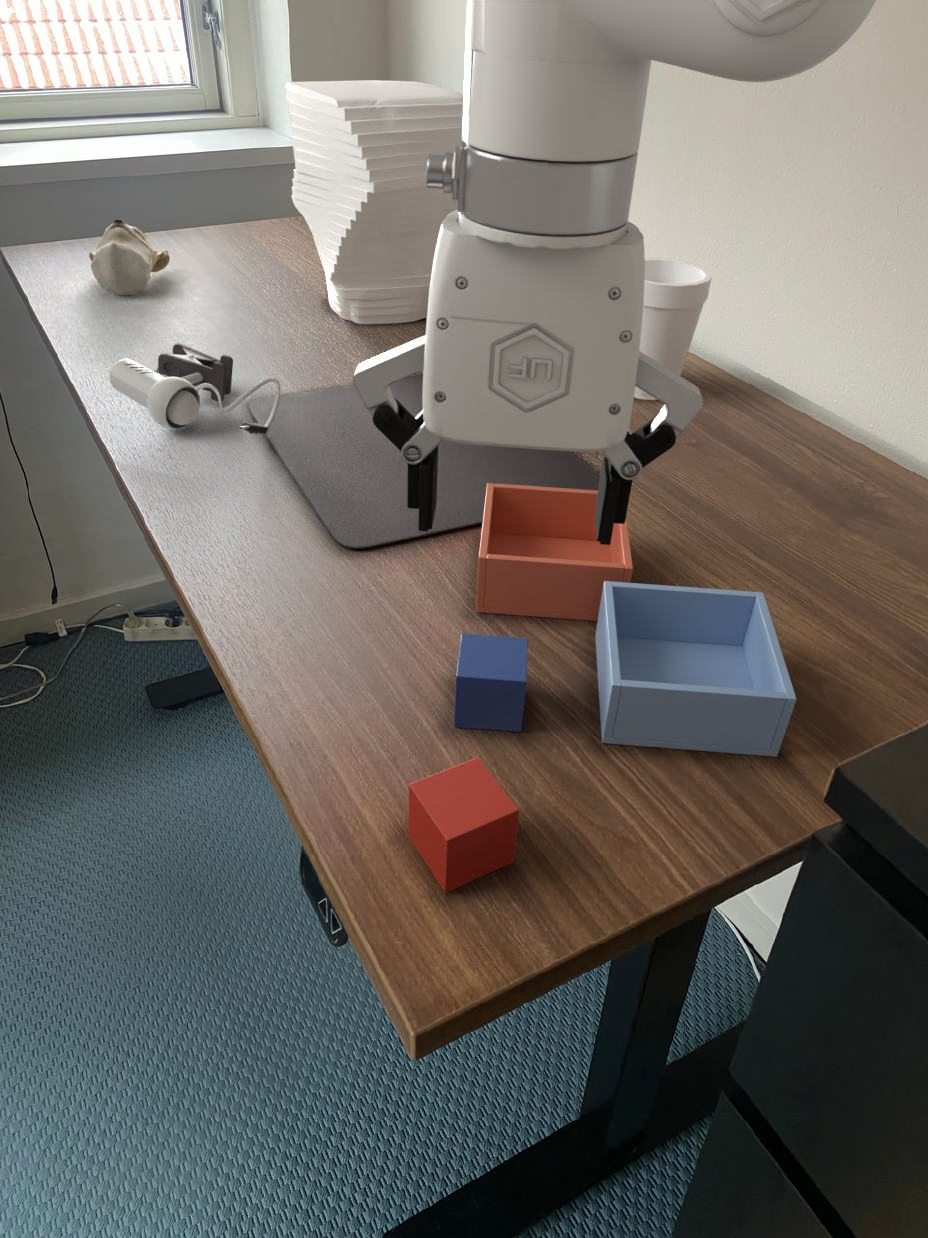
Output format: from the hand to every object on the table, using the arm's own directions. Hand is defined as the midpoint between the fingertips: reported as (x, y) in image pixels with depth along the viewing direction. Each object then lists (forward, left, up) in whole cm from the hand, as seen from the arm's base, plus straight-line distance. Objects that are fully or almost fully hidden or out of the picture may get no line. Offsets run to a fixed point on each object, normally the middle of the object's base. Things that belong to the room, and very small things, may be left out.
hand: (514, 524), depth 51 cm
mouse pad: (+10, -39, -16) cm, 43 cm away
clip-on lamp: (+32, -42, -16) cm, 55 cm away
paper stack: (+16, -78, -16) cm, 81 cm away
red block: (+2, +10, -16) cm, 19 cm away
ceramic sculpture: (+54, -82, -16) cm, 99 cm away
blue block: (+1, -2, -16) cm, 16 cm away
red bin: (-3, -18, -16) cm, 24 cm away
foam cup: (-14, -57, -16) cm, 61 cm away
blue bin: (-12, -5, -16) cm, 20 cm away
